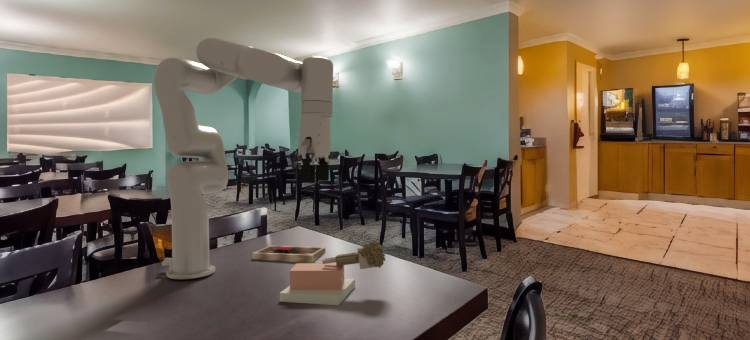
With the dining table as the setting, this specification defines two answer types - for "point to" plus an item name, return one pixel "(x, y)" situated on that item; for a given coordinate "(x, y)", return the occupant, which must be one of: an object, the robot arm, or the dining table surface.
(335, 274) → the brick
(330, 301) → the plate
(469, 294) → the dining table surface
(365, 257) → the toy
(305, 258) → the car corral
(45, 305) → the dining table surface
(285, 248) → the toy car
